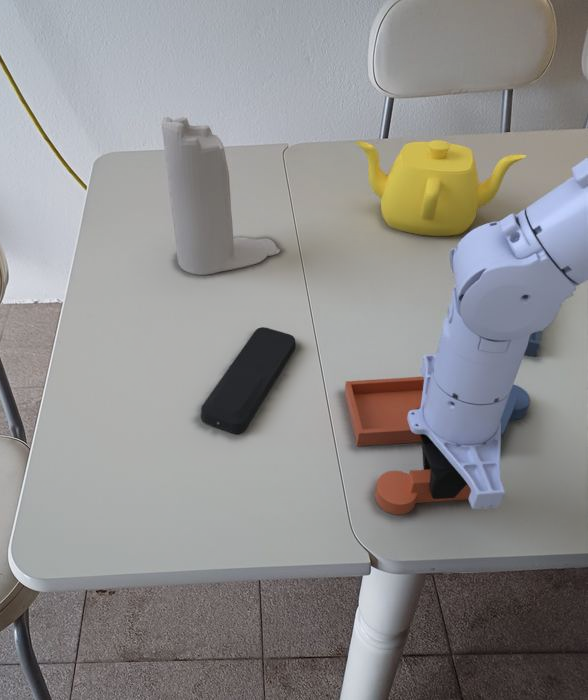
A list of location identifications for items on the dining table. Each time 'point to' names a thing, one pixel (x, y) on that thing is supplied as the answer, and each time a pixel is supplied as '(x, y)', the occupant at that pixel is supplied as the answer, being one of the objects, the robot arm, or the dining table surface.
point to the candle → (204, 202)
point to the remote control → (248, 380)
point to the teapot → (433, 187)
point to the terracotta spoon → (408, 491)
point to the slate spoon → (514, 407)
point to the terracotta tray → (383, 409)
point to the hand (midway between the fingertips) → (439, 485)
